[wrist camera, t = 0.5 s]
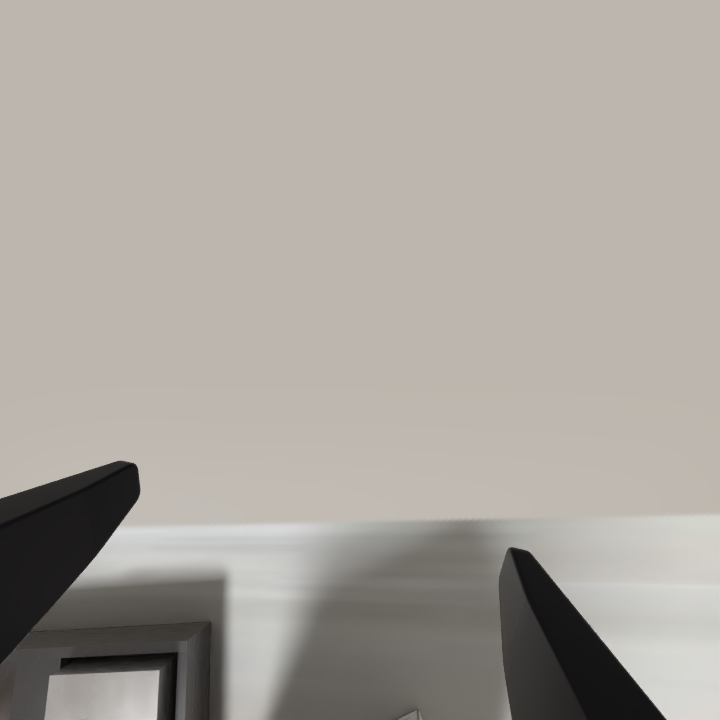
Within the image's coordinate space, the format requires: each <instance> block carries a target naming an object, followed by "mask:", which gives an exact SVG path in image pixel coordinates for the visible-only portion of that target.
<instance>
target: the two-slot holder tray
mask: <svg viewBox="0 0 720 720" xmlns="http://www.w3.org/2000/svg"><path fill="white" fill-rule="evenodd" d="M210 629H211V622H198V623H180V624H163V625H145V626H128V627H110V628H92V629H75V630H57V631H40V632H29V633H28V635H27V636H26V637H25V638H24V639H23V640H22V641H21V643H20V644H19V645H18V646H17V647H16V648H15V649H14V651H13V652H12V653H11V654H10V655H9V656H8V657H7V658H6V660H5V661H4V662H3V663H2V664H1V665H0V720H209V675H210Z"/></svg>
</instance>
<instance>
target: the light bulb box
mask: <svg viewBox="0 0 720 720" xmlns="http://www.w3.org/2000/svg"><path fill="white" fill-rule="evenodd" d="M398 720H423V719H422V716H421V714H420V711H419V710H418V709H417V710H415V711H414V712H412V713H410V714H408V715H406V716H404V717H402V718H400V719H398Z"/></svg>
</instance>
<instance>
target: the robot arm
mask: <svg viewBox="0 0 720 720" xmlns="http://www.w3.org/2000/svg"><path fill="white" fill-rule="evenodd" d="M139 495H140V483H139V473H138V468H137V466H136V464H134V463H130V462H126V461H116V462H113V463H110V464H107V465H104V466H101V467H98V468H95V469H92V470H88V471H85V472H82V473H79V474H76V475H73V476H70V477H67V478H63V479H60V480H57V481H54V482H51V483H48V484H45V485H42V486H38V487H35V488H32V489H29V490H26V491H23V492H20V493H17V494H14V495H11V496H7V497H4V498H1V499H0V665H1V664H2V663H3V662H4V661H5V660H6V658H7V657H8V656H9V655H10V654H11V653H12V652H13V651H14V649H15V648H16V647H17V646H18V645H19V644H20V643H21V641H22V640H23V639H24V638H25V637H26V636H27V635H28V633H29V632H30V631H31V630H32V629H33V628H34V627H35V625H36V624H37V623H38V622H39V621H40V620H41V619H42V617H43V616H44V615H45V614H46V613H47V612H48V611H49V609H50V608H51V607H52V606H53V605H54V604H55V603H56V601H57V600H58V599H59V598H60V597H61V596H62V595H63V593H64V592H65V591H66V590H67V589H68V588H69V587H70V585H71V584H72V583H73V582H74V581H75V580H76V579H77V577H78V576H79V575H80V574H81V573H82V572H83V571H84V569H85V568H86V567H87V566H88V565H89V564H90V563H91V561H92V560H93V559H94V558H95V557H96V555H97V554H98V553H99V551H100V550H101V549H102V548H103V546H104V545H105V544H106V542H107V541H108V539H109V538H110V537H111V535H112V534H113V533H114V531H115V530H116V529H117V527H118V526H119V525H120V523H121V522H122V520H123V519H124V518H125V516H126V515H127V514H128V512H129V511H130V510H131V508H132V507H133V506H134V504H135V503H136V501H137V500H138V498H139ZM499 600H500V617H501V633H502V650H503V664H504V672H505V679H506V685H507V692H508V698H509V704H510V710H511V716H512V720H666V718H665V717H664V716H663V715H662V713H661V712H660V711H659V710H658V708H657V707H656V706H655V705H654V704H653V702H652V701H651V700H650V699H649V697H648V696H647V695H646V694H645V693H644V691H643V690H642V689H641V688H640V686H639V685H638V684H637V683H636V682H635V680H634V679H633V678H632V677H631V675H630V674H629V673H628V672H627V671H626V669H625V668H624V667H623V666H622V664H621V663H620V662H619V661H618V659H617V658H616V657H615V656H614V655H613V653H612V652H611V651H610V650H609V648H608V647H607V646H606V645H605V644H604V642H603V641H602V640H601V639H600V637H599V636H598V635H597V634H596V633H595V631H594V630H593V629H592V628H591V626H590V625H589V624H588V623H587V621H586V620H585V619H584V618H583V617H582V615H581V614H580V613H579V612H578V610H577V609H576V608H575V607H574V606H573V604H572V603H571V602H570V601H569V599H568V598H567V597H566V596H565V595H564V593H563V592H562V591H561V590H560V588H559V587H558V586H557V585H556V583H555V582H554V581H553V580H552V579H551V577H550V576H549V575H548V574H547V572H546V571H545V570H544V569H543V568H542V566H541V565H540V564H539V563H538V561H537V560H536V559H535V558H534V557H533V555H532V554H531V553H530V552H528V551H526V550H522V549H517V548H513V547H511V548H509V549H508V550H507V552H506V556H505V559H504V562H503V566H502V569H501V573H500V577H499Z"/></svg>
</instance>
